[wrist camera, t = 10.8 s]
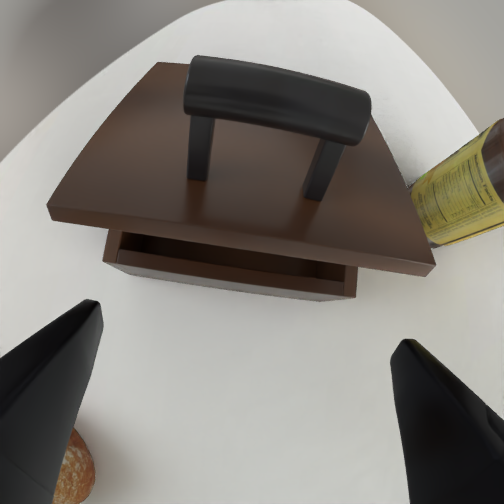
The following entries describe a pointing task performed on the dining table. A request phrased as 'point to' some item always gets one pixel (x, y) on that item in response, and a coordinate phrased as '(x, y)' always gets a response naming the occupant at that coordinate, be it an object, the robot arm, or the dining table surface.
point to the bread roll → (75, 473)
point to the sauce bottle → (463, 191)
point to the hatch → (248, 168)
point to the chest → (229, 267)
